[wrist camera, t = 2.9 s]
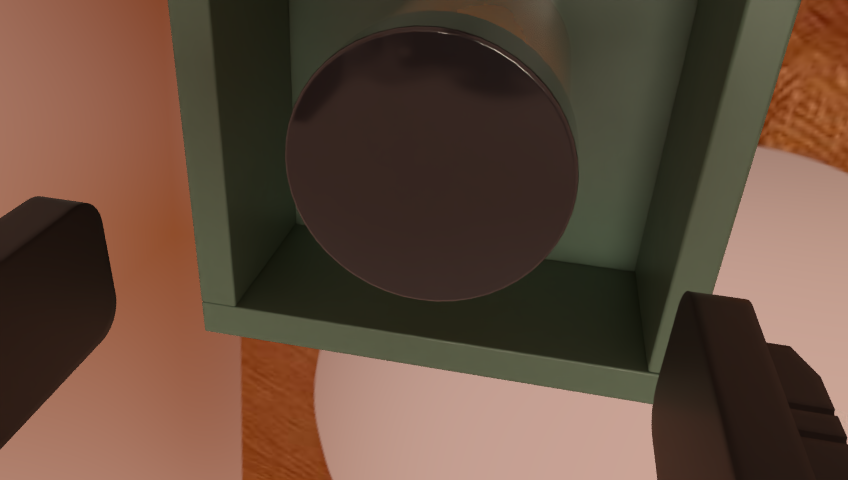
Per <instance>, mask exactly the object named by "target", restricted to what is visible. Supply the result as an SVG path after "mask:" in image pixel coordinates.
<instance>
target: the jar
mask: <svg viewBox="0 0 848 480" xmlns="http://www.w3.org/2000/svg"><path fill="white" fill-rule="evenodd" d="M571 66H572V57H571V45H570V40H569V35H568V32H567V29H566V26H565V23H564V21H563V19H562V17H561V15H560V13H559V12H558V10H557V9H556V7H555V6H554V4H553V3H552V1H551V0H405V1H404V2H403V3H402V4H401V5H400V6H399V7H397V8H396V9H395V10H394V11H393V12H392V13H391V14H390V15H389V16H388V17H387V18H386V19H385V20H382V21H380V22H377V23H375V24H373V25H371V26H369V27H367V28H366V29H364V30H362V31H361V32H359V33H357V34H356V35H355V36H354V37H352V38H351V39H350V40H349V41H347V42H346V43H345V44H344V45H342V46H341V47H340V48H339V49H338V50H337V51H336V52H335V53H334V54H332V55H331V56H330V57H329V58H328V59H327V60H326V61H325V62H324V63H323V64H322V65H321V66H320V67H319V68H318V69H317V70H316V71H315V72H314V73H313V75H312V76H311V77H310V79H309V80H308V82H307V83H306V85H305V86H304V87H303V89H302V91H301V93H300V95H299V97H298V99H297V101H296V103H295V105H294V107H293V110H292V114H291V117H290V120H289V123H288V129H287V135H286V143H285V162H286V171H287V178H288V182H289V186H290V190H291V194H292V197H293V199H294V202H295V205H296V207H297V210H298V212H299V214H300V216H301V217H302V219H303V221H304V223H305V225H306V226H307V228H308V229H309V231H310V232H311V234H312V235H313V237H314V238H315V240H316V241H317V242H318V243H319V244H320V245H321V246H322V248H323V249H324V250H325V251H326V252H327V253H328V254H329V255H330V256H331V257H332V258H333V259H334V260H335V261H337V262H338V263H339V264H340V265H341V266H343V267H344V268H345V269H347V270H348V271H349V272H351V273H352V274H353V275H355V276H357V277H358V278H360V279H362V280H364V281H365V282H367V283H369V284H371V285H373V286H375V287H378V288H380V289H382V290H384V291H387V292H390V293H393V294H396V295H400V296H403V297H408V298H413V299H418V300H427V301H459V300H466V299H472V298H476V297H480V296H484V295H488V294H491V293H493V292H496V291H498V290H501V289H504V288H505V287H507V286H509V285H511V284H513V283H515V282H517V281H518V280H520V279H521V278H523V277H524V276H525V275H527V274H528V273H530V272H531V271H532V270H534V269H535V268H536V267H537V266H538V265H539V264H540V263H541V262H542V261H543V260H544V259H545V258H546V257H547V256H548V255H549V254H550V252H551V251H552V250H553V249H554V247H555V246H556V245H557V243H558V242H559V240H560V238H561V237H562V235H563V233H564V232H565V230H566V228H567V225H568V223H569V221H570V218H571V216H572V213H573V210H574V206H575V202H576V198H577V191H578V182H579V140H578V130H577V125H576V120H575V115H574V112H573V109H572V106H571V104H570V95H571Z"/></svg>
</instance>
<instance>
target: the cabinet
mask: <svg viewBox="0 0 848 480" xmlns="http://www.w3.org/2000/svg"><path fill="white" fill-rule="evenodd" d="M404 1H405V0H168V7H169V15H170V24H171V33H172V42H173V50H174V59H175V68H176V77H177V86H178V94H179V102H180V112H181V120H182V129H183V138H184V147H185V156H186V165H187V173H188V182H189V190H190V199H191V209H192V217H193V226H194V235H195V244H196V252H197V261H198V269H199V279H200V287H201V296H202V301H203V302H202V305H203V314H204V322H205V330H206V331H211V332H217V333H223V334H229V335H236V336H242V337H248V338H254V339H260V340H266V341H272V342H278V343H284V344H290V345H296V346H302V347H308V348H314V349H321V350H327V351H333V352H339V353H345V354H351V355H357V356H363V357H369V358H376V359H381V360H387V361H394V362H399V363H406V364H412V365H418V366H424V367H430V368H436V369H442V370H448V371H454V372H460V373H466V374H473V375H478V376H484V377H491V378H497V379H503V380H509V381H515V382H521V383H527V384H534V385H539V386H545V387H552V388H557V389H563V390H570V391H576V392H582V393H588V394H594V395H600V396H606V397H613V398H618V399H624V400H630V401H637V402H642V403H648V404H653V400H654V393H655V388H656V384H657V381H658V377H659V373H660V370H661V366H662V363H663V359H664V355H665V352H666V348H667V345H668V341H669V337H670V334H671V330H672V327H673V323H674V319H675V316H676V312H677V309H678V305H679V302H680V300H681V298H682V296H683V294H684V293H685V292H686V291H692V292H699V293H706V294H712V293H713V290H714V287H715V283H716V280H717V276H718V273H719V270H720V267H721V263H722V260H723V257H724V254H725V250H726V247H727V244H728V240H729V237H730V234H731V231H732V227H733V224H734V220H735V217H736V214H737V210H738V207H739V204H740V201H741V198H742V194H743V191H744V187H745V184H746V181H747V177H748V174H749V171H750V168H751V165H752V161H753V158H754V154H755V151H756V148H757V145H758V141H759V138H760V135H761V132H762V128H763V125H764V122H765V118H766V115H767V112H768V108H769V105H770V102H771V99H772V95H773V92H774V89H775V85H776V82H777V79H778V75H779V72H780V69H781V66H782V62H783V59H784V56H785V52H786V49H787V46H788V42H789V39H790V36H791V33H792V29H793V26H794V23H795V19H796V16H797V13H798V10H799V6H800V3H801V0H551V1H552V3H553V4H554V6H555V7H556V9H557V10H558V12H559V13H560V15H561V17H562V19H563V21H564V23H565V26H566V29H567V32H568V35H569V40H570V45H571V57H572V66H571V95H570V104H571V106H572V109H573V112H574V115H575V120H576V125H577V130H578V140H579V182H578V191H577V198H576V202H575V206H574V210H573V213H572V216H571V218H570V221H569V223H568V225H567V228H566V230H565V232H564V233H563V235H562V237H561V238H560V240H559V242H558V243H557V245H556V246H555V247H554V249H553V250H552V251H551V252H550V254H549V255H548V256H547V257H546V258H545V259H544V260H543V261H542V262H541V263H540V264H539V265H538V266H537V267H536V268H535V269H534V270H532V271H531V272H530V273H528V274H527V275H525V276H524V277H523V278H521V279H520V280H518V281H517V282H515V283H513V284H511V285H509V286H507V287H505V288H504V289H501V290H498V291H496V292H493V293H491V294H488V295H484V296H480V297H476V298H472V299H466V300H459V301H427V300H418V299H413V298H408V297H403V296H400V295H396V294H393V293H390V292H387V291H384V290H382V289H380V288H378V287H375V286H373V285H371V284H369V283H367V282H365V281H364V280H362V279H360V278H358V277H357V276H355V275H353V274H352V273H351V272H349V271H348V270H347V269H345V268H344V267H343V266H341V265H340V264H339V263H338V262H337V261H335V260H334V259H333V258H332V257H331V256H330V255H329V254H328V253H327V252H326V251H325V250H324V249H323V248H322V246H321V245H320V244H319V243H318V242H317V241H316V240H315V238H314V237H313V235H312V234H311V232H310V231H309V229H308V228H307V226H306V225H305V223H304V221H303V219H302V217H301V216H300V214H299V212H298V210H297V207H296V205H295V202H294V199H293V197H292V194H291V190H290V186H289V182H288V178H287V171H286V162H285V143H286V135H287V129H288V123H289V120H290V117H291V114H292V110H293V107H294V105H295V103H296V101H297V99H298V97H299V95H300V93H301V91H302V89H303V87H304V86H305V85H306V83H307V82H308V80H309V79H310V77H311V76H312V75H313V73H314V72H315V71H316V70H317V69H318V68H319V67H320V66H321V65H322V64H323V63H324V62H325V61H326V60H327V59H328V58H329V57H330V56H331V55H332V54H334V53H335V52H336V51H337V50H338V49H339V48H340V47H341V46H342V45H344V44H345V43H346V42H347V41H349V40H350V39H351V38H352V37H354V36H355V35H356V34H357V33H359V32H361V31H362V30H364V29H366V28H367V27H369V26H371V25H373V24H375V23H377V22H380V21H382V20H385V19H386V18H387V17H388V16H389V15H390V14H391V13H392V12H393V11H394V10H395V9H396V8H397V7H399V6H400V5H401V4H402V3H403V2H404Z"/></svg>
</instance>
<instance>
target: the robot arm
mask: <svg viewBox="0 0 848 480" xmlns="http://www.w3.org/2000/svg"><path fill="white" fill-rule="evenodd" d="M115 311H116V294H115V288H114V283H113V278H112V272H111V267H110V261H109V256H108V250H107V245H106V240H105V234H104V229H103V223H102V219H101V216H100V214H99V212H98V210H97V209H96V208H95V207H94V206H93V205H91V204H88V203H83V202H76V201H69V200H62V199H54V198H48V197H40V196H37V197H33V198H31V199H29V200H27V201H25V202H24V203H22V204H21V205H19V206H18V207H16V208H15V209H13V210H12V211H10V212H9V213H7V214H6V215H4V216H3V217H1V218H0V449H1V448H2V447H3V446H4V445H5V444H6V443H7V442H8V441H9V440H10V439H11V437H12V436H13V435H14V434H15V433H16V432H17V431H18V430H19V429H20V428H21V427H22V426H23V425H24V424H25V423H26V421H27V420H28V419H29V418H30V417H31V416H32V415H33V414H34V413H35V412H36V411H37V410H38V409H39V408H40V406H41V405H42V404H43V403H44V402H45V401H46V400H47V399H48V398H49V397H50V396H51V395H52V394H53V393H54V392H55V390H56V389H57V388H58V387H59V386H60V385H61V384H62V383H63V382H64V381H65V380H66V379H67V377H69V376H70V374H71V373H72V372H73V371H74V370H75V369H76V368H77V367H78V366H79V365H80V364H81V363H82V362H83V361H84V360H85V359H86V357H87V356H88V355H89V354H90V353H91V352H92V351H93V350H94V349H95V348H96V347H97V346H98V344H100V343H101V341H102V340H103V339H104V338H105V337H106V335H107V333H108V332H109V330H110V328H111V325H112V323H113V320H114V316H115ZM834 411H835V409H834V407H833V404H832V402H831V400H830V397H829V395H828V393H827V391H826V388H825V386H824V384H823V382H822V379H821V377H820V376H819V375H818V374H817V373H816V372H815V371H814V370H813V369H812V368H811V367H810V366H809V365H808V364H807V363H806V362H805V361H804V360H803V359H802V358H801V357H800V356H799V355H798V354H797V353H796V352H795V351H794V350H793V349H792V348H791V347H790V346H785V345H778V344H772V343H766V341H765V338H764V336H763V333H762V330H761V327H760V325H759V322H758V319H757V316H756V314H755V311H754V308H753V306H752V304H751V302H750V301H749V300H746V299H740V298H733V297H726V296H719V295H713V294H706V293H699V292H692V291H686V292H685V293H684V294H683V296H682V298H681V300H680V302H679V305H678V309H677V312H676V316H675V319H674V323H673V327H672V330H671V334H670V337H669V341H668V345H667V348H666V352H665V355H664V359H663V363H662V366H661V370H660V373H659V377H658V381H657V384H656V388H655V393H654V400H653V408H652V437H653V446H654V455H655V463H656V471H657V480H848V444H847V442H846V441H847V436H846V434H845V431H844V429H843V427H842V425H841V422H840V420H839V418H838V416H834Z"/></svg>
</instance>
